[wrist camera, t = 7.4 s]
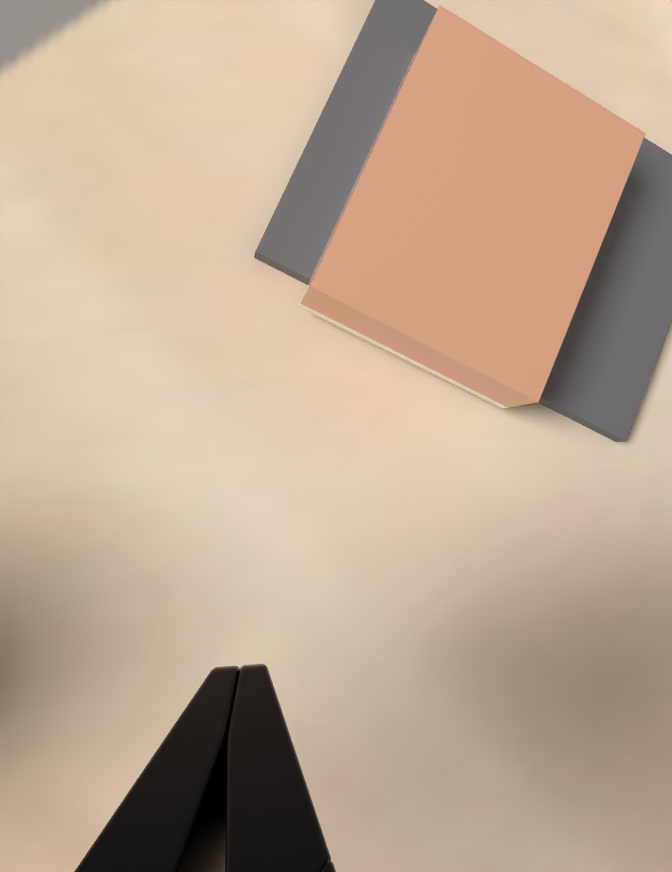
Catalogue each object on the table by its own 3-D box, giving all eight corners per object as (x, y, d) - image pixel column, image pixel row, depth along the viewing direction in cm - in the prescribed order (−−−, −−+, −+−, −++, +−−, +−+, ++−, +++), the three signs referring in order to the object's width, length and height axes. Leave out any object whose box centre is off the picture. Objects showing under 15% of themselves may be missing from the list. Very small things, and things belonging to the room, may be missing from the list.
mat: (615, 441, 23) (626, 441, 22) (254, 257, 20) (255, 251, 20) (709, 192, 24) (722, 186, 24) (381, -10, 22) (386, -23, 21)
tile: (538, 402, 19) (645, 133, 20) (310, 286, 18) (439, 5, 19) (502, 408, 21) (600, 167, 23) (298, 306, 20) (413, 55, 21)
